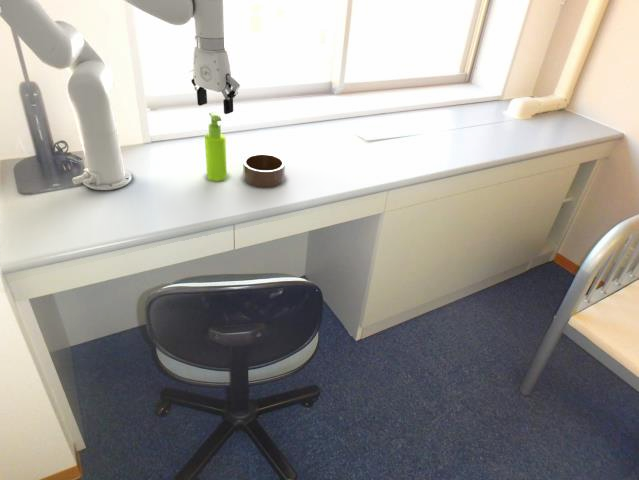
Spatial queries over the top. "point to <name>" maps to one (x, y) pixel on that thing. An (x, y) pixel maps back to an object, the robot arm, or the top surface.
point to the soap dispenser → (215, 150)
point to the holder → (263, 170)
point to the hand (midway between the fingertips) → (215, 108)
